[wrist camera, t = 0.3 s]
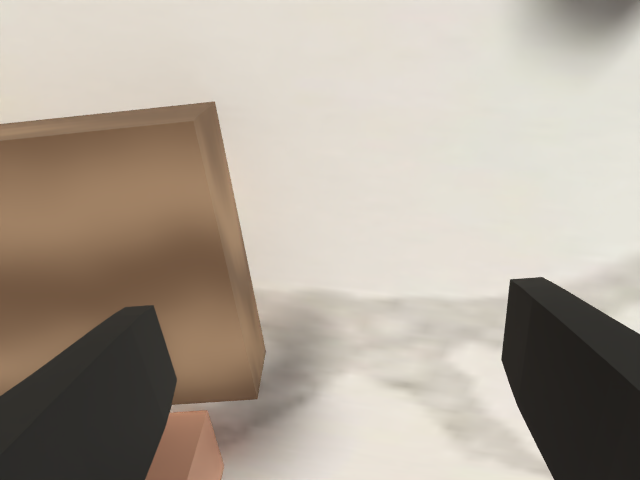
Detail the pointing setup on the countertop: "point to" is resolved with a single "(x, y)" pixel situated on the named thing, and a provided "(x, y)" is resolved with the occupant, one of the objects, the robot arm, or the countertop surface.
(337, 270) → the countertop surface
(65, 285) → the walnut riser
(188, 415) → the terracotta block
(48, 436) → the robot arm
